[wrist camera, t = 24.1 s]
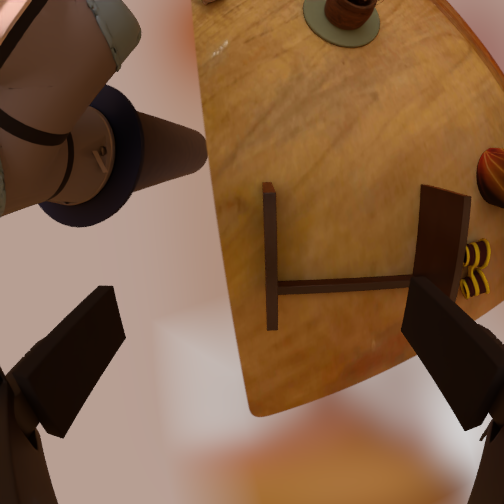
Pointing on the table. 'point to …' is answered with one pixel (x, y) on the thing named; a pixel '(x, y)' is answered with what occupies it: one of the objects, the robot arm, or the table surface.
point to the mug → (491, 176)
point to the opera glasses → (473, 258)
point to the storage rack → (426, 264)
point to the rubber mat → (335, 35)
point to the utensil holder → (349, 12)
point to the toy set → (207, 1)
